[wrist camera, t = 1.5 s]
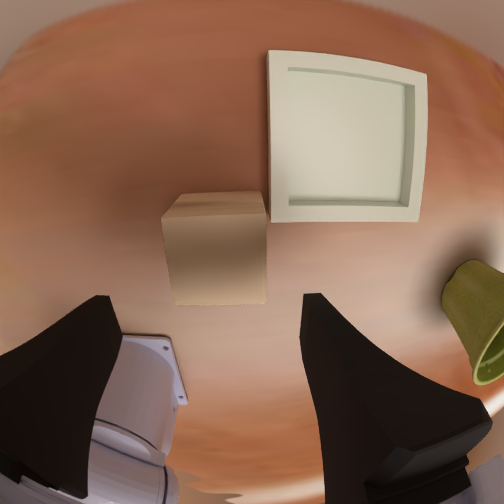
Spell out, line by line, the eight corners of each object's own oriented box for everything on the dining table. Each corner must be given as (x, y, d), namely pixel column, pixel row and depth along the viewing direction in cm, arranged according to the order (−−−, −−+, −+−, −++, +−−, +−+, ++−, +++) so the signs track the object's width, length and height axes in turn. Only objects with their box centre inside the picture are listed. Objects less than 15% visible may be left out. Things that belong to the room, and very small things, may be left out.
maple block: (261, 261, 20) (266, 303, 15) (189, 263, 20) (174, 305, 15) (260, 190, 18) (266, 213, 13) (181, 193, 18) (160, 218, 13)
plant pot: (427, 260, 20) (490, 323, 12) (498, 229, 19) (559, 272, 11) (423, 338, 24) (462, 401, 16) (488, 305, 23) (531, 353, 15)
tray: (405, 213, 18) (417, 222, 17) (268, 213, 18) (271, 222, 17) (412, 76, 14) (426, 74, 13) (266, 57, 14) (268, 50, 12)
